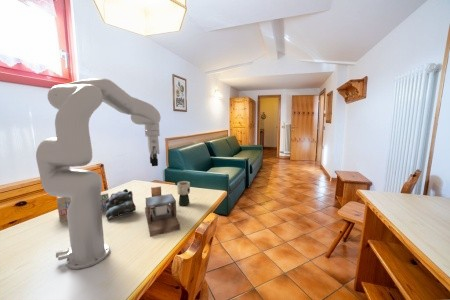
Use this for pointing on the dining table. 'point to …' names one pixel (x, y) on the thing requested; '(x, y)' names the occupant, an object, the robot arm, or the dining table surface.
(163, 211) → the block
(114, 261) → the dining table surface
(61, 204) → the stack of blocks
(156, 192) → the sled
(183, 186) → the character mug
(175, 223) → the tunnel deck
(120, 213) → the lucky cat figurine
